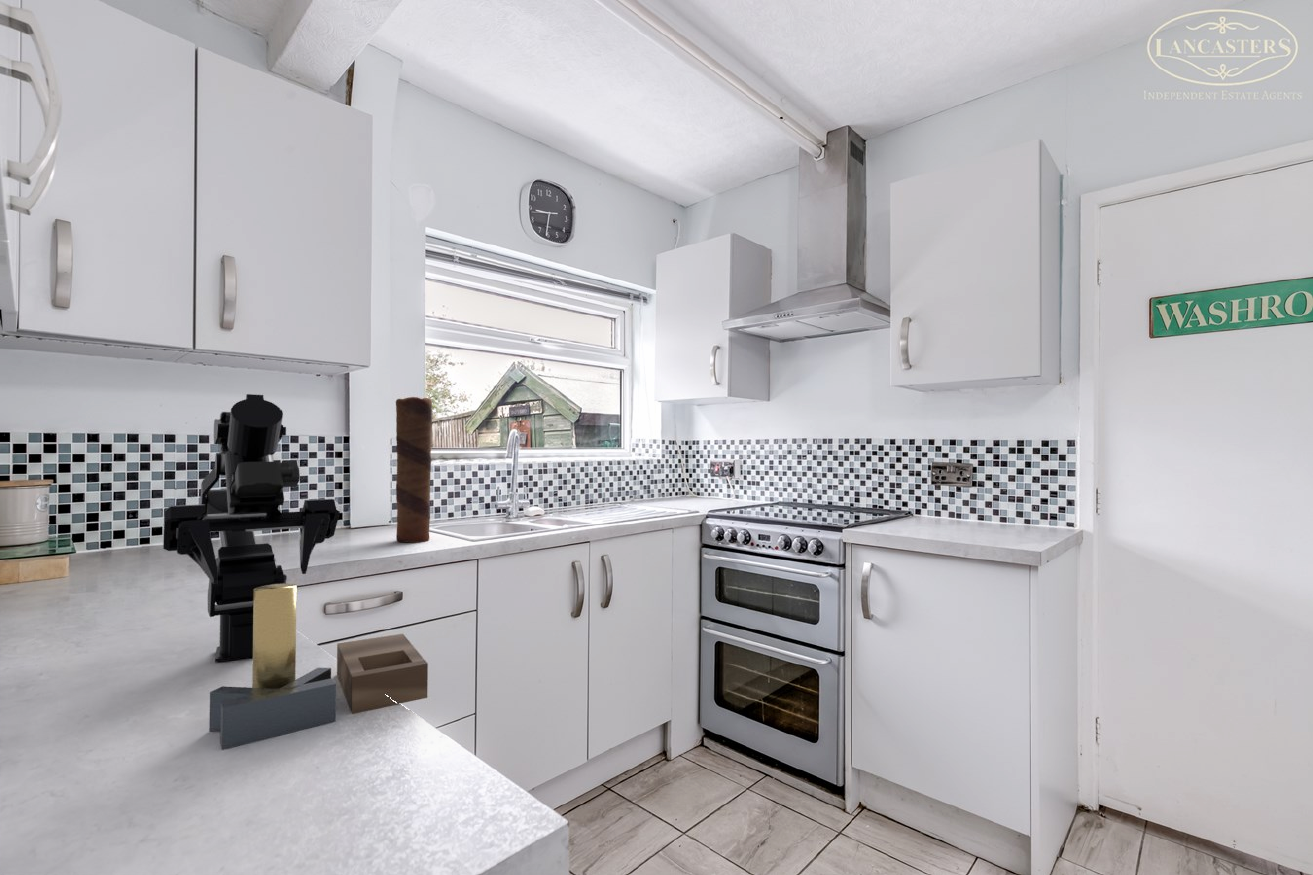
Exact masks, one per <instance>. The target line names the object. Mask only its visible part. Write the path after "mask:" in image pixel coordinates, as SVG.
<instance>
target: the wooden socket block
mask: <svg viewBox="0 0 1313 875" xmlns="http://www.w3.org/2000/svg"><path fill="white" fill-rule="evenodd" d="M336 646H337V647H336V657H337V658H336V677H337V678H338V681H339V683H340V686H341V689H342V692H343V694H344V696H345V699H346V702H347V705H348V707H349V709H350V711H351V712H350V713H351V714H357V713H362V712H366V711H371V710H376V709H380V708H384V707H385V708H386V707H390V706H394V705H399V704H404V703H408V702H413V701H415V702H416V701H417V700H423V699H427V698H428V684H429V683H428V679H429V678H428V674H429V673H428V671H429V670H428V668H429V667H428V662H427V661H426V660H425V658H424V657H423V656H422V655H421V653H419V651H418V650H417V648H415V646H414V645H413V644H412V643H411V641H410V640H409V639H408V638H407V637H406V635H405V634H404V633H397V634H392V635H385V636H377V637H372V638H364V639H358V640H351V641H345V642H338V643H337V645H336ZM385 694H386V695H388V696H389V697H387V696H386V695H385ZM390 697H391V699H392V700H394V701H396V702H397V703H398V704H396V703H395V702H393V701H392V700H391V699H390Z"/></svg>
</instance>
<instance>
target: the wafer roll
mask: <svg viewBox="0 0 1313 875" xmlns="http://www.w3.org/2000/svg"><path fill="white" fill-rule="evenodd" d="M432 405H433V403H432V399H431V398H429V397H424V398H421V397H418V396H417V397H416V396H409V397H405V398H397V399H396V400H395V413H396V414H395V419H396V420H395V422H396V425H395V427H396V428H395V432H396V433H395V434H396V437H395V439H396V450H395V451H396V462H397V464H396V465H397V466H396V476H395V477H396V478H395V479H396V484H395V491H396V493H395V495H396V496H395V497H396V498H395V500H396V533H395V534H396V538H395V539H396V542H402V543H422V542H423V543H424V542H427V541H428V542H429V540H430V522H431V513H430V512H431V506H430V505H431V504H430V503H431V501H430V500H431V474H432V472H431V470H432V458H431V457H432V455H431V454H432V453H431V452H432V422H433V421H432V415H433V409H432V408H433V406H432Z"/></svg>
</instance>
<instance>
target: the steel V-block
mask: <svg viewBox="0 0 1313 875" xmlns="http://www.w3.org/2000/svg"><path fill="white" fill-rule="evenodd" d="M336 711H337V682H335V680H334V679H333V678H332V668H331V667H316V668H315V669H312V670H311V671H309V672H307V673H306V674H304V675H301V676H300V677H298V678H297V679H296V678H295V680H294V681H292V682H291V683H289V684H287V685H285V686H283V687H282V688H280V689H269V688H252V687H245V686H243V687H242V686H225V685H224V686H220V687H218V688H215V689H214V690H212V691H210V692H209V722H208V723H209V728H208V730H209V732H214V733H216V732H217V733H220V734H219V738H220V740H219V742H220V747H221V750H225V749H226V750H227V749H230V748H234V747H238V746H242V745H247V744H251V743H254V742H257V741H261V740H266V739H270V738H275V737H277V736H278V737H279V736H282V735H287V734H291V733H294V732H299V731H302V730H307V729H311V728H315V727H319V726H323V725H326V724H330V723H335V722H337V721H336V720H337V716H336V715H337V712H336Z"/></svg>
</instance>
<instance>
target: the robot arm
mask: <svg viewBox="0 0 1313 875" xmlns="http://www.w3.org/2000/svg"><path fill="white" fill-rule="evenodd" d="M283 417H284V413H283V409H281V408H280V407H279V406H278V405H277V404H276V403H273V402H271V401H269V400H265V398H264V394H251V393H248V394H246V396H245V399H242V400H240V401H237V402H236V403H234V404H233V405H232V407H231V408H230V411H222V412H220V414H219V419H214V421H213V444H214V445H218V452H216V453H215V455H214V458H215V459H214V460H215V461H214V467H213V468H212V469H211V471H210V472H209V473H208V474H207V475H206V476H205V477H204V479H203V480H202V481H201V483H200V501H199V504H181V505H180V504H179V505H177V504H176V505H170V506H168V507H167V508H166V509H165V510H164V511H163V512H164V513H163V536H162V538H163V541H162V542H163V550H165V551H168V552H172V551H173V552H175V551H176V554H177V555H179V556H181V555H182V556H183V555H184V556H185V555H186V556H188V557H189V558H190V559H191V560H192V561H193V562H195V563H196V564H197V565H198V566H199V567H200V569H202V571H203V572H204V574H205V575H206V576H207V578H208V579H209V580H208V581H209V582H208V590H207V612H208V615H209V617H210V618H212V617H213V618H214V617H215V616H219V646H216V650H215V655H214V656H215V658H214V662H215V663H220V662H226V661H232V660H233V661H234V660H241V659H246V658H253V604H254V589H255V588H257V587H261V586H265V585H272V584H287V574H286V573H285V572H284V569H283V567H282V565H281V564H277V563H278V562H277V560H276V558H275V553H274V552H273V547H272V545H271V544H270V543H268V542H267V543H257V540H256V535H255V532H261V531H272V530H273V531H274V530H287V529H290V530H291V529H299V532H300V540H299V566H300V570H301V573H302V574H303V575H306V574H307V571H308V566H309V562H310V558H311V555H312V552H313V550H314V548H315V546H316V545H317V544H323V543H324V542H325V540H327V539H330V538H332V537H333V536H334V535H335V533H336V528H337V525H338V521H339V517H340V513H341V511H340V510H341V509H340V506H339V503H338V502H337V501H336V499H333V498H321V499H319V498H318V499H304V502H303V504H302V505H303V507H302V510H301V511H286V512H285V511H284V512H283V511H282V510H281V506H283V505H284V503H285V502H284V501H285V496H284V488H295V487H298V486H299V483H300V480H301V479H300V478H301V475H300V474H301V472H300V466H299V461H298V459H283V460H281V461H275V460H274V455H275V454H276V452H277V450H278V446H279V443H280V441H281V440H282V438H283V437H285V436H287V427H286V426H284V425H283V424H282V423H283ZM221 476H224V477H225V484H226V485H225V486H226V488H225V489H213V487H214V486H215V485H216V484H217V483H218V482H219V480H220V479H221ZM281 511H282V512H281ZM213 532H216V533H217V532H218V533H219V539H220V544H221V545H220V546H221V547H220V548H219V549H218V550H217V558H216V555H215V550H214V545H213V541H212V535H211V533H213Z"/></svg>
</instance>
